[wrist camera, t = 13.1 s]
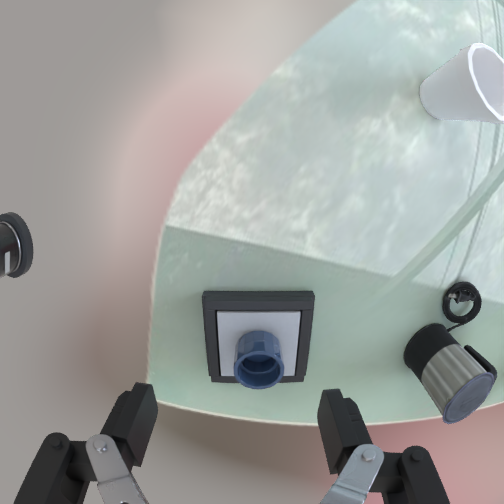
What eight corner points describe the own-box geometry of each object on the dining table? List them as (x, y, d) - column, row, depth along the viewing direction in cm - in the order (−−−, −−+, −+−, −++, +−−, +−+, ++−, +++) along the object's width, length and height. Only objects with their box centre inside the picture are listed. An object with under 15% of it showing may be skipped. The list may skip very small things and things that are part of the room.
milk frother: (400, 375, 41) (437, 433, 26) (405, 295, 37) (462, 349, 22) (462, 349, 40) (504, 393, 26) (472, 272, 36) (532, 308, 22)
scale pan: (221, 370, 38) (221, 376, 36) (218, 307, 35) (217, 312, 34) (293, 369, 38) (294, 375, 36) (298, 307, 35) (300, 312, 34)
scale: (210, 369, 40) (207, 382, 37) (203, 290, 36) (200, 300, 33) (304, 369, 40) (307, 381, 37) (312, 290, 36) (317, 300, 33)
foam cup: (410, 59, 28) (464, 28, 15) (458, 83, 28) (515, 66, 15) (408, 117, 30) (470, 101, 18) (457, 139, 30) (520, 135, 18)
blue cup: (236, 364, 36) (234, 389, 31) (235, 328, 34) (232, 351, 29) (279, 364, 36) (282, 388, 31) (281, 328, 34) (285, 351, 29)
